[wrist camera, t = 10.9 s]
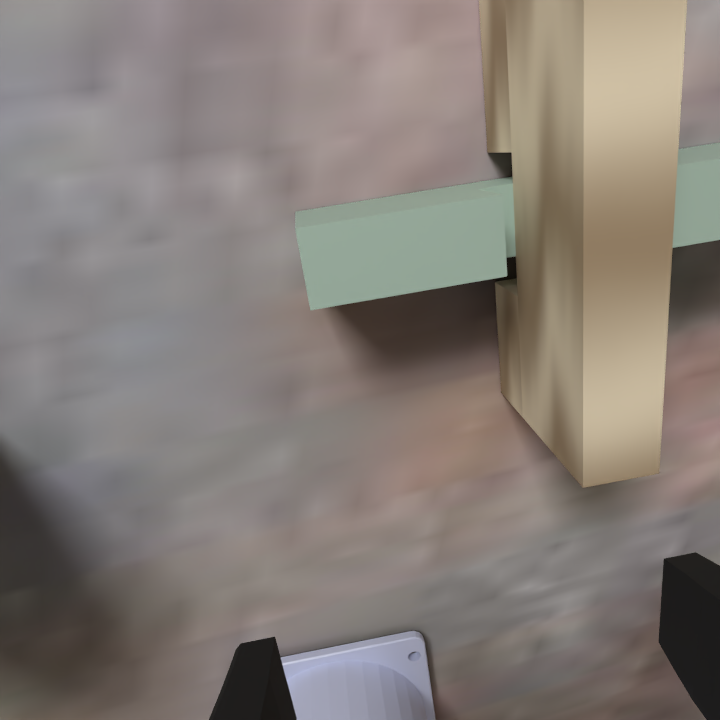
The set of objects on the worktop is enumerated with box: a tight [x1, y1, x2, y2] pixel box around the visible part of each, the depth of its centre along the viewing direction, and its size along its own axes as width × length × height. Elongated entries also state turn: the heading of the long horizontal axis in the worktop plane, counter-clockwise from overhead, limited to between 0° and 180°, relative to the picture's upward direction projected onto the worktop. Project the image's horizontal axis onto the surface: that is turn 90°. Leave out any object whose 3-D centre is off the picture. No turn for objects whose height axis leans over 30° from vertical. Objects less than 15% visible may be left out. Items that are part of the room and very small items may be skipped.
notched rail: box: [295, 143, 720, 310], centre depth 16 cm, size 2×14×4 cm, turn 98°
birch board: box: [479, 0, 687, 488], centre depth 15 cm, size 12×2×6 cm, turn 8°
